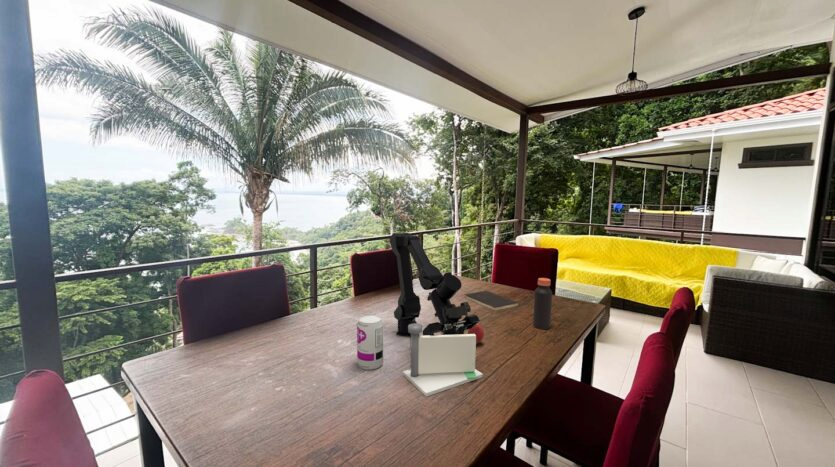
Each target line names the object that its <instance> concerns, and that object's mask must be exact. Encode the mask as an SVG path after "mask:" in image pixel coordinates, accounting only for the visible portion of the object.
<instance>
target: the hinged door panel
mask: <svg viewBox="0 0 835 467" xmlns="http://www.w3.org/2000/svg"><path fill="white" fill-rule="evenodd" d="M408 332H409V333H411V337H410V369H411V376H412V377H417V376H418V375H419V374H424V373H447V372H471V371H475V369H476V356H477V355H476V350H477V349H476V348H477V347H476V346H477V344H476V335H475V334H468V333H464V334H456V335H442V334H434V335H424V336H423V335H420V334H421V333H423V325H422V324H420V323H418V322H417V323H413V324H409V325H408Z"/></svg>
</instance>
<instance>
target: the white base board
mask: <svg viewBox="0 0 835 467" xmlns="http://www.w3.org/2000/svg"><path fill="white" fill-rule="evenodd" d="M402 375H403V376H404V377H405V378H406V379H407V380H408V381H409V382H410V383H411V384H412V385H413V386H414V387H415V388H416V389H417V390H419V392H420V393H421V394H422V395H423V396H424V397H430V396H432V395H433V396H434V395H435V394H438V393H441V392H444V391H446V390H450V389H453V388H455V387H458V386H461V385H465V384H467V383H470V382H472V381H476V380H478V379H481V378H483V377H484V376H483V375H484V374H483V373H482V372H481V371H479V370H477V369H476V368H475V371H471V372H447V373H424V374H419V375H418V376H417V377H412V376H411V368H409V369H406V370H403V371H402Z"/></svg>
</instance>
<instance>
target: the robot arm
mask: <svg viewBox="0 0 835 467" xmlns="http://www.w3.org/2000/svg"><path fill="white" fill-rule="evenodd" d="M388 242H389V244H390V248H391V249H390V250H391V251H392V253H394V255H395V256H396V261H397V262H396V263H397V271H398V280H399V287H400V295H399V297H398V299H397V307H396V308H395V309H394V311H393V316H394V317H393V318H395V319H396V320H397V331H396V333H395V335H397V336H404V337H410V338H411V333H409V332H408V325H409V324H413V323H417V324H418V322H417V321H416V318H419V317H420V314H421V311H422V310H421V309H422V305H421V300H420V299H421V298H420V296H419V295H417V293H415V290H414V285H413V276H412V269H411V268H412V267H411V260H410V256H411V257H412V260H413V261H414V264H415V266H416V268H417V270H418V277H417V278H418V280H419V284H420V287H421V288H422V289H423V290H425V291H430V290H432V291H431V292H428V295H427V298H426V301H427V302H428V301H431V304H432V306H433V308H434V311H435V312H434V315H433V316H435V318H437V319H438V321H436V322H432V323H428V324H427V325H426V326H425V327H424V328H423V329H422V336H424V335H435V334H437V333H440V335H456V334H465V331H468V330H469V329H471V328H473V327H474V326H475V325H476V324H477V323H478V324H479V323H480V322H481V320H480V317H479V315H477V314H475V313H473V314H470V315H469V313H470V312H471V311H472V309H471V306H470V304H469V302H468V301H464V302H460V304H459V306H457V305H456V304H455V303H452V302H451V299H452V298H454V296H455V295H456V294H457V293H458V292H459V290H461V289H462V281H461V280H460V278H459V277H457V276H456V275H453V274H452V272H451V271H448V272H445V273H444V274H442V271H441V270H440V269H439V267H437V266H435V265H433V263H431V260H430V259H429V257H428V255H427V253H426V251H425V249H424V248H423V245H422V243H421V242H420V237H419V235H415V234H414V235H413V234H410V233H409V232H393V233H392V234H391V236H390V237H389V240H388ZM463 316H465V317H464V318H463ZM461 319H462V320H461Z"/></svg>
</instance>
